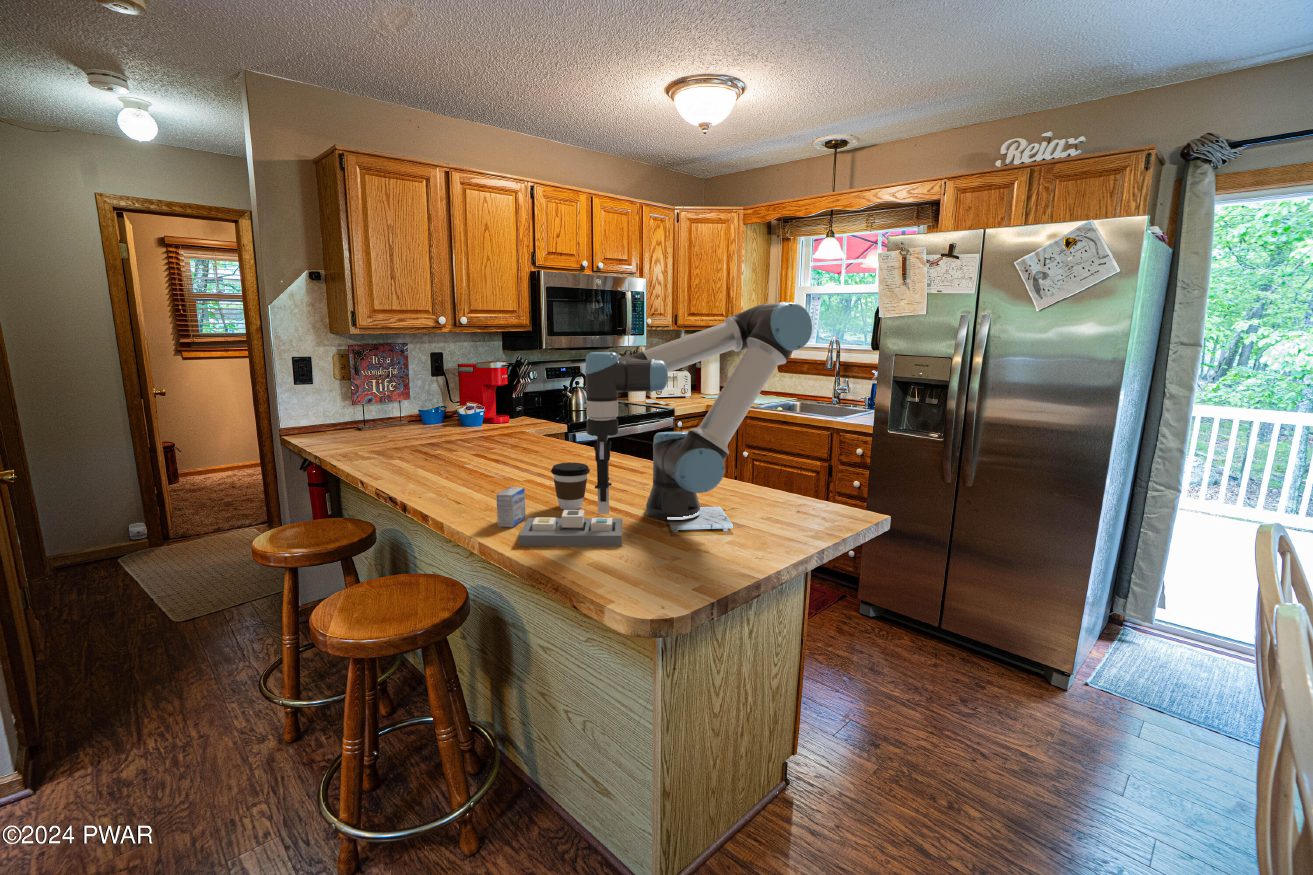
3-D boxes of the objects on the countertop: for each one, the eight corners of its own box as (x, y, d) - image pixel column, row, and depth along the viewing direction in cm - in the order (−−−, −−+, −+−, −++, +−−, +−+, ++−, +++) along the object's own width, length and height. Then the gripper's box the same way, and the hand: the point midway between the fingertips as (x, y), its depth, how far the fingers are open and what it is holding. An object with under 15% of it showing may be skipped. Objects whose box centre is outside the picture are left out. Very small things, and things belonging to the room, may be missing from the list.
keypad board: (622, 527, 153) (622, 518, 152) (621, 546, 140) (621, 535, 139) (528, 527, 152) (528, 517, 151) (519, 545, 139) (518, 535, 138)
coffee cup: (597, 505, 171) (597, 465, 169) (572, 515, 162) (572, 472, 160) (568, 499, 177) (568, 460, 175) (543, 508, 168) (542, 467, 166)
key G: (556, 528, 148) (555, 516, 147) (553, 535, 143) (553, 523, 142) (535, 528, 147) (535, 516, 147) (532, 535, 143) (532, 523, 142)
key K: (584, 520, 148) (584, 509, 147) (582, 527, 143) (582, 515, 142) (564, 520, 147) (563, 509, 147) (561, 527, 143) (561, 515, 142)
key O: (612, 528, 148) (612, 516, 148) (611, 535, 143) (611, 523, 143) (592, 528, 148) (592, 516, 148) (590, 535, 143) (590, 523, 143)
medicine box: (513, 528, 151) (512, 495, 149) (497, 526, 152) (496, 494, 150) (526, 518, 159) (525, 487, 157) (510, 517, 159) (509, 486, 158)
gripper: (588, 413, 147) (590, 505, 151) (584, 422, 134) (586, 521, 139) (618, 413, 147) (619, 504, 152) (617, 422, 134) (618, 521, 139)
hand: (603, 512), depth 145 cm, fingers closed
